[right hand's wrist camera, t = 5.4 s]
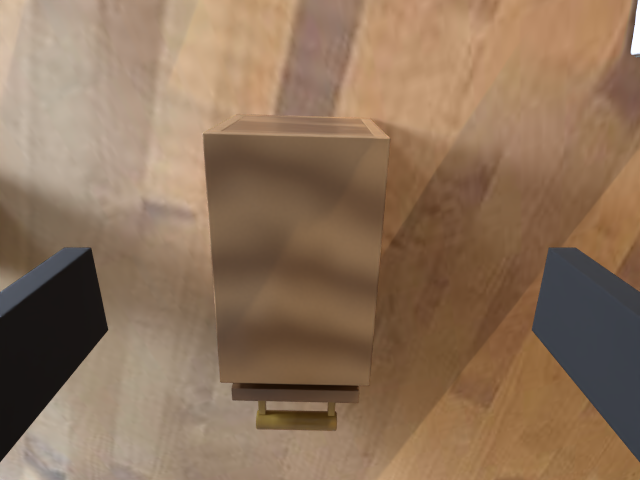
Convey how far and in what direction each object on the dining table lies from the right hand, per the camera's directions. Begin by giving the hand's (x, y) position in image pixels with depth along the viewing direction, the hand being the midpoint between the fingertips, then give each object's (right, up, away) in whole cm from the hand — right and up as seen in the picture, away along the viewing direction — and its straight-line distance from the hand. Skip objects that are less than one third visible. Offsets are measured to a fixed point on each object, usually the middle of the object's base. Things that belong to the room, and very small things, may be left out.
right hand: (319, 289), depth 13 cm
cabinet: (-2, +3, +27) cm, 27 cm away
